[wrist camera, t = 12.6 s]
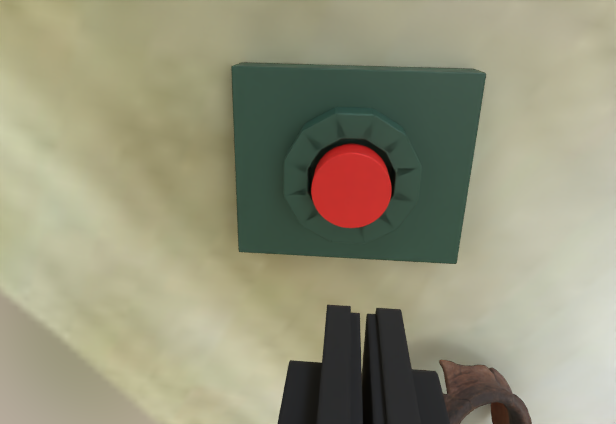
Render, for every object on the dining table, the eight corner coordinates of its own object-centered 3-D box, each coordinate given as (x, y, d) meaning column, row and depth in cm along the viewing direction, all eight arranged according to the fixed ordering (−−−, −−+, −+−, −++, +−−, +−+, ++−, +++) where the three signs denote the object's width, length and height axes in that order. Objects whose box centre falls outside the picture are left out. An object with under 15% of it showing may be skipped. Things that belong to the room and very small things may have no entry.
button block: (246, 235, 28) (231, 267, 25) (240, 62, 24) (221, 69, 21) (448, 246, 27) (464, 281, 24) (474, 68, 24) (498, 77, 20)
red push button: (313, 212, 23) (310, 226, 22) (314, 141, 22) (312, 151, 20) (385, 216, 23) (388, 230, 22) (391, 144, 22) (395, 154, 20)
